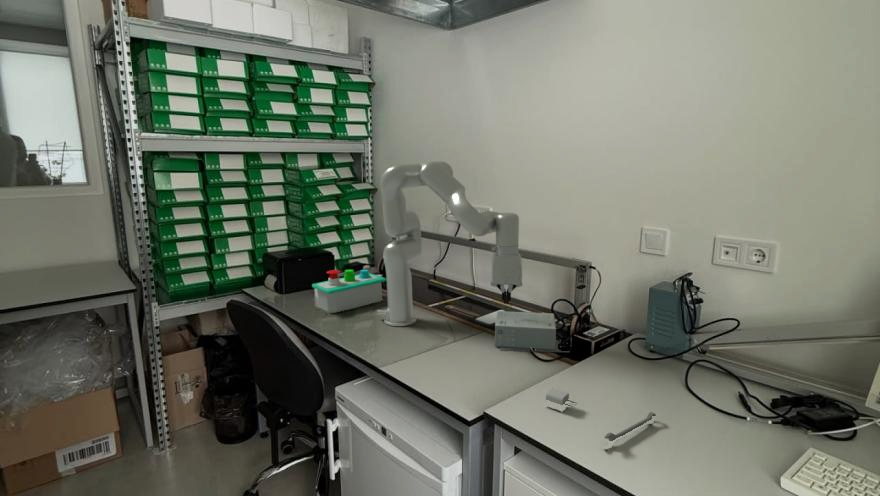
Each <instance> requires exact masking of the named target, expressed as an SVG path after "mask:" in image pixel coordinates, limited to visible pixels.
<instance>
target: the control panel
mask: <svg viewBox="0 0 880 496" xmlns="http://www.w3.org/2000/svg"><path fill="white" fill-rule="evenodd" d="M339 273H341V271H340V270H337V269H332V270H331V269H330V270H327V271H326V274H329V277H328V280H326V281H321V282H316V283H312V284H311V287H312V289H316V291H317V305H318V306H317V308H321V309H323V310H325V311H327V312H329V313H332V314H337V312H338V313H340V312H341V311H342V312H345V310H346V311H349V310H352V309H357V308H360V307H365V306H369V305H372V303H373V304H376V303H380V302H381V299H382V298H383V294H382V283H384V282H387V279H386V277H383V276H379V275H376V274H374V273H371V272H369V270H368V269H361V270H360V273H359V274H356V273H355V270H354V269H345V270H344V275H343V276H344V277H339V275H338V274H339ZM342 312H341V313H342Z"/></svg>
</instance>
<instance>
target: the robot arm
mask: <svg viewBox="0 0 880 496" xmlns="http://www.w3.org/2000/svg"><path fill="white" fill-rule="evenodd" d="M417 187H428V189H430V190H431V191H432V192H433V193H434V194H435V195H436V196H437V197H438V198H440V199H441V200H442V201H443V202H444V203H445V205H447V206H448V208H449V211H450V213H451V215H452V216H453V218H454V219H455V220H456V222H457V223H458V224H460V226H461V227H462V228H463V229H465V230H466V231H467V232H468V233H469V234H471V235H473V236H475V237H484V236H487V235H488V234H489V235H490V234H492V233H495V245H494V246H491V251H494V252H495V253H493V255H492V262H491V275H490V277H491V278H490V279H491V282H490V286H491V287H494V288H497V289H498V290H499V291H500V292H501V302H502V301H503V304H504V305H506V304H507V305H509V304H510V302H511V301H512V296H511V295H512V292H513V291H514V290H515V289H516V288H521V287H523V262H522V256H521V254H520V253H519V239H520V238H519V234H520V233H519V232H520V231H519V230H520V222H519V221H520V217H519V215H518V214H517V213H514V212H497V211H494V210H493V211H491V210H487V211H482V212H479V211H478V210H477V209H476V208H475V207H474V206H473V205H472V204H471V203H470V201H468V199H467V198H466V187H465V186H464V185H463V184H462V183H461V182H460V181H458V179H456V177H454V171H453V168H452V167H451V165H450V164H449V163H447V162H446V161H441V160H439V161H428V162H424V163H402V164H400V163H399V164H395V165H393V166H390V167H388V168H387V169H386V170H385V171H384V172H383V173H382V176H381V178H380V193H381V194H380V195H381V200H382V201H381V202H382V211H383V213H382V214H383V224H384V225H383V226H384V230H385V231H384V232H385V233H386V235H387V236H389V237H391V238H398V237H399V239H397V240H393V241H390V243H388V244H387V245H386V246H385V248H383V252H382V253H383V254H382V257H383V258H382V259H383V264H384V267H385V276H386V277H385V278H386V294H387V295H386V297H387V300H386V301H387V309H385V310H383V309H377V310H376V314H377V316H378V317H383V320H384V324H386V325H388V326H391V327H405V326H410V325H413V324H415V323H416V322H417V320H418V318H417V315H415V314H413V311H414V310H413V285H412V284H413V283H412V272H411V269H410V266H409V263H411V262H413V261H415V260H418V258H420V256H421V254H422V250H423V248H422V247H423V245H422V232H421V229H422V228H421V222H420V218H419V216H418V214H417V213H416V212H415V211H414V210H411V209H407V207H406V206H407V204H406V203H407V201H406V198H405V195H404V192H403V189H405V188H417ZM505 285H508V287H507V289H506V288H505Z"/></svg>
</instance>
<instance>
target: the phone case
mask: <svg viewBox="0 0 880 496" xmlns="http://www.w3.org/2000/svg"><path fill="white" fill-rule="evenodd" d="M498 311H506V310H504V309H498V310H496V311H493V312H490V313H488V314H484V315H482V316H479V317H476V318H475V319H474V322H475V323H477V324H480V325H483V326H486V327H490V328H491V327H495V322H496V318H497V313H498Z"/></svg>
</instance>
